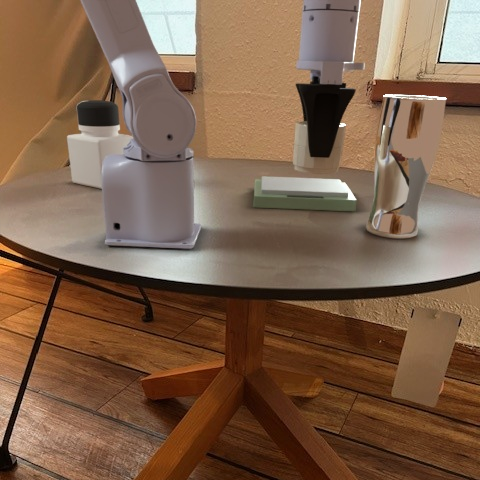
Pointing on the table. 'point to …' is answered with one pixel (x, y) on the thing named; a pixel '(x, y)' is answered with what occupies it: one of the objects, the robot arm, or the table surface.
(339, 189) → the scale
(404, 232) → the beer glass
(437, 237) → the table surface
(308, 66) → the robot arm
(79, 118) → the medicine bottle
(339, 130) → the cup
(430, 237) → the table surface
